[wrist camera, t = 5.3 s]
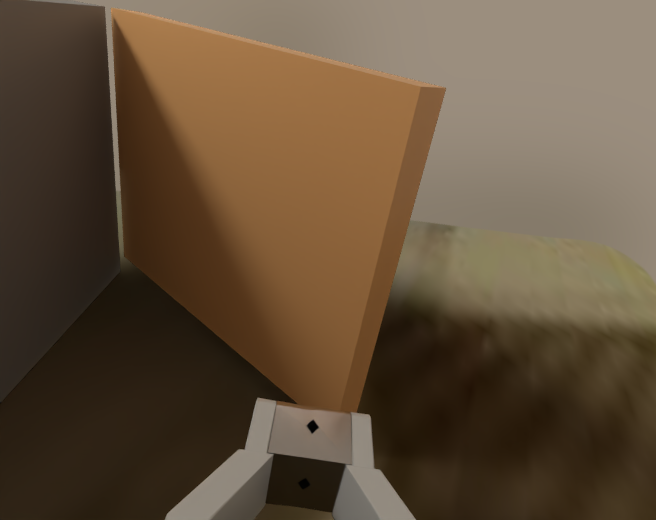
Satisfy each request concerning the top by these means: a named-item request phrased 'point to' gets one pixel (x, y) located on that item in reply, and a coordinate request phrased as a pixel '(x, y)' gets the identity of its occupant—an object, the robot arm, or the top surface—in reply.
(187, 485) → the top surface
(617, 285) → the top surface
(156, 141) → the side door
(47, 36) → the block
